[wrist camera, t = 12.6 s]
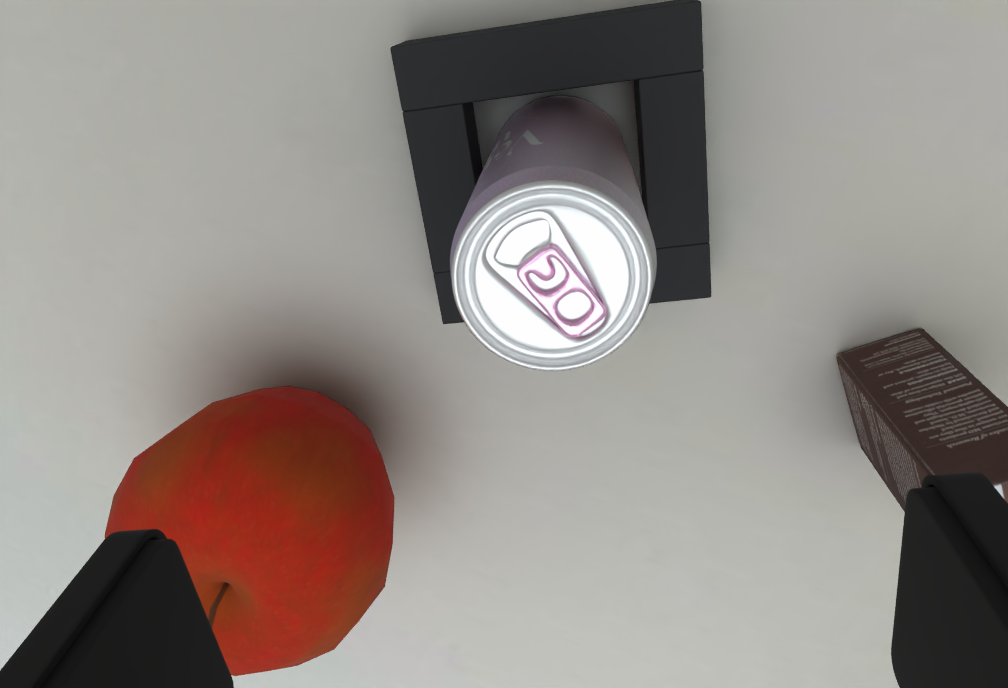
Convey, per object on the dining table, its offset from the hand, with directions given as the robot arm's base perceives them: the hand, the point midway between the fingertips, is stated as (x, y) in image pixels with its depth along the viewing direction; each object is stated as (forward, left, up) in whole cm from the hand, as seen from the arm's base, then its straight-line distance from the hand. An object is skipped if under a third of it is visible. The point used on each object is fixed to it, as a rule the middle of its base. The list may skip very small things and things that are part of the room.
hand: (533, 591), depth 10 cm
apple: (+14, -15, -28) cm, 34 cm away
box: (+14, +15, -28) cm, 34 cm away
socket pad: (+1, 0, -28) cm, 28 cm away
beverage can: (+1, 0, -28) cm, 28 cm away
